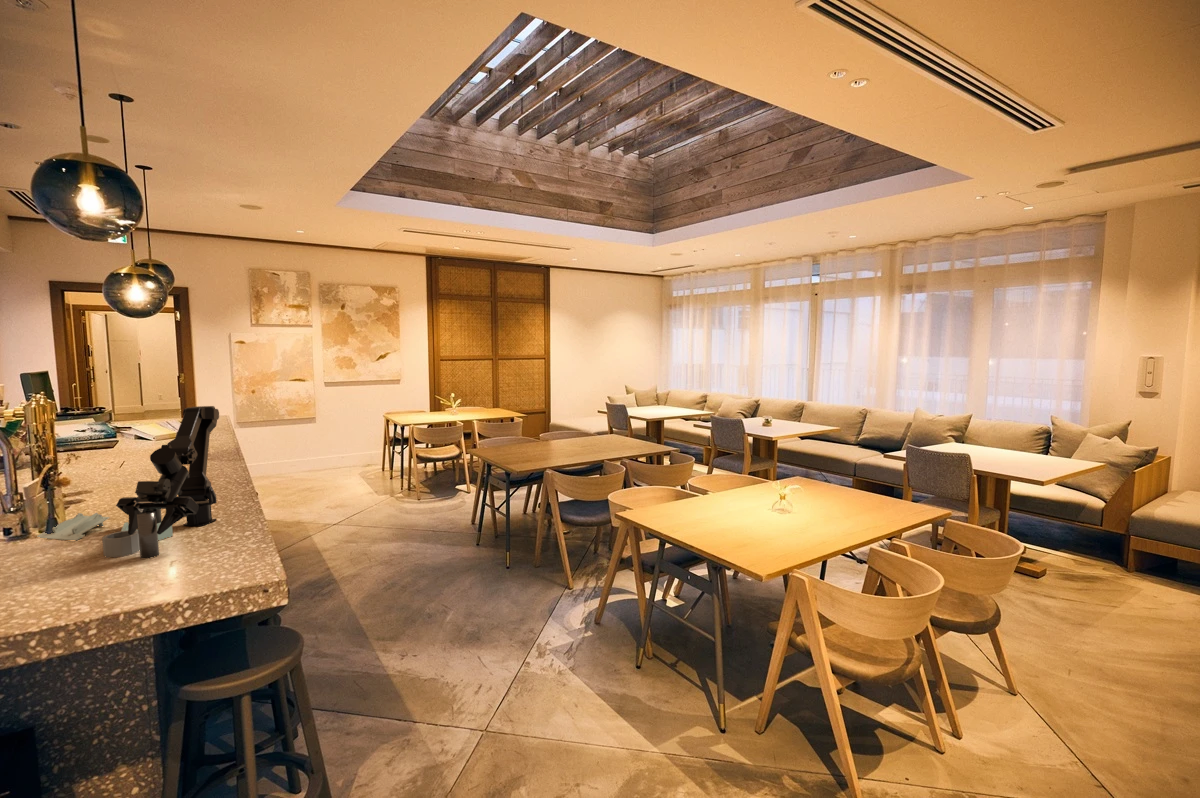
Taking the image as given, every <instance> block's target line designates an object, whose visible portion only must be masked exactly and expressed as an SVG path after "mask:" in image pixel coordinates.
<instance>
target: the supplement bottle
mask: <svg viewBox="0 0 1200 798" xmlns="http://www.w3.org/2000/svg"><path fill="white" fill-rule="evenodd" d="M136 496H137V498H138V499H139V500H140V501H141V502H148V499H145V498H143V496H144V495H143V494H139V493H138V494H136ZM145 511H156V519H157V524H158V523H161V522H162V520H163V518H162V509H146V510H145Z"/></svg>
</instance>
